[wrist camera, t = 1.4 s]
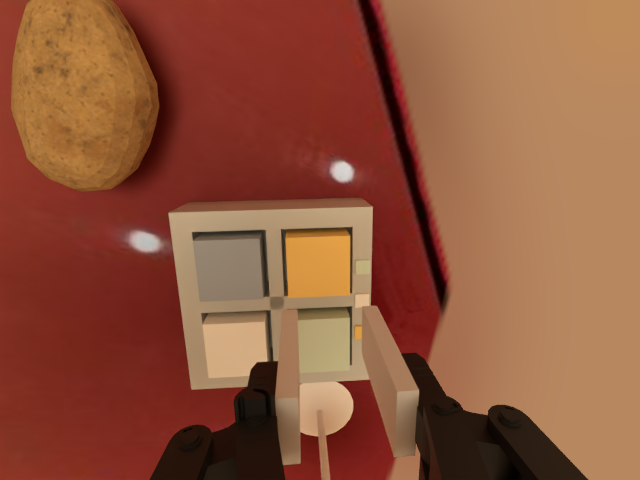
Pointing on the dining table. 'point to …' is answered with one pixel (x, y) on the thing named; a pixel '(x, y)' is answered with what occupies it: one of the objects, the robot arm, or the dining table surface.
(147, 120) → the potato
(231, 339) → the key ivory
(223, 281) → the key slate
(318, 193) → the dining table surface
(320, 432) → the wineglass
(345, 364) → the key sage
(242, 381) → the keypad
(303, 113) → the dining table surface
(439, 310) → the dining table surface
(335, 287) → the key amber
